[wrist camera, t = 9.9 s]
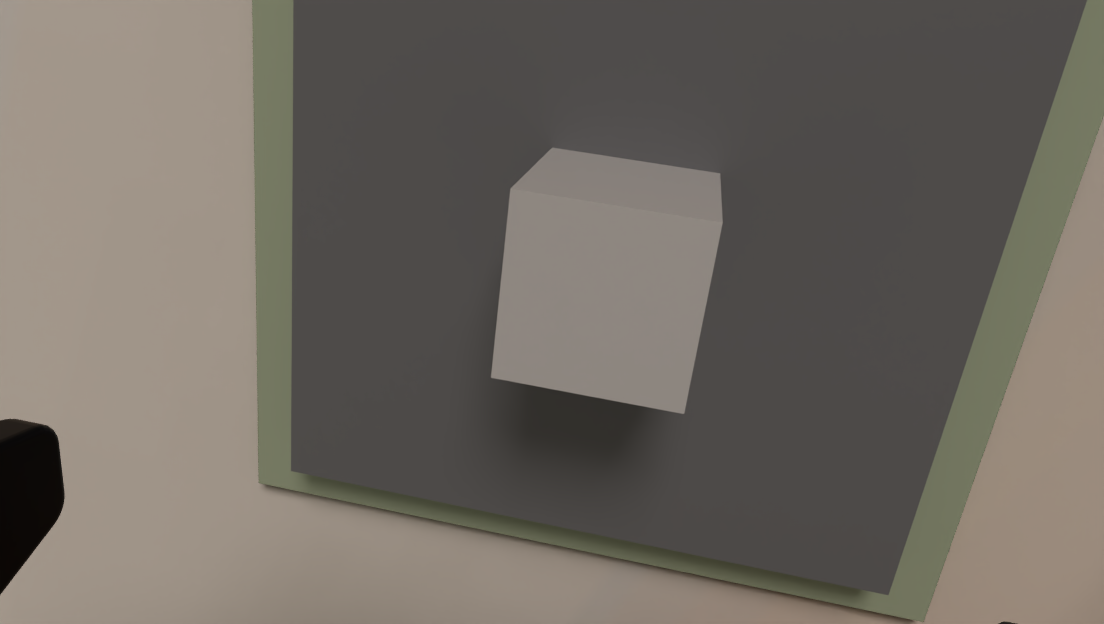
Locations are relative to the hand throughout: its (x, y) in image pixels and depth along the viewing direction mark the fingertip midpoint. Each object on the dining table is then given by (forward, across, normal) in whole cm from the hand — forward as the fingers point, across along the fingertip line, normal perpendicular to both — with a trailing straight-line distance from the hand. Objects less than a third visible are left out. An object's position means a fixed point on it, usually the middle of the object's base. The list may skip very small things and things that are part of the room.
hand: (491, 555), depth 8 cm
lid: (+12, 0, 0) cm, 12 cm away
